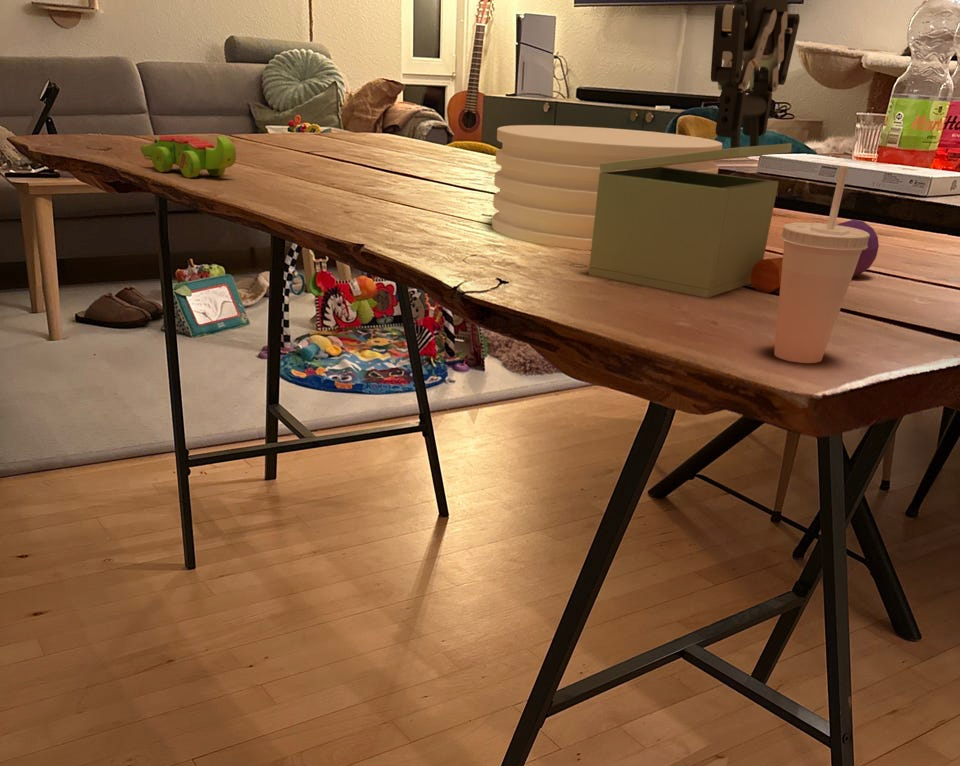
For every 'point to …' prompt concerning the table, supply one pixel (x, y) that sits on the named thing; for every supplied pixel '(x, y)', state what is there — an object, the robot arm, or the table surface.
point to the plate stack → (570, 176)
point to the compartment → (680, 229)
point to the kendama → (770, 270)
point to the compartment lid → (752, 110)
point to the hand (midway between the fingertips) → (740, 135)
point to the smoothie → (815, 281)
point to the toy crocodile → (190, 155)
